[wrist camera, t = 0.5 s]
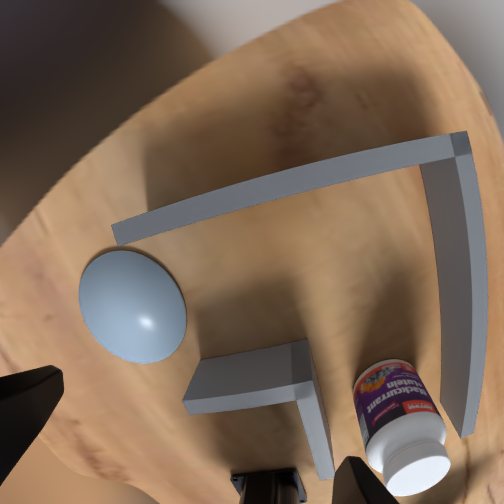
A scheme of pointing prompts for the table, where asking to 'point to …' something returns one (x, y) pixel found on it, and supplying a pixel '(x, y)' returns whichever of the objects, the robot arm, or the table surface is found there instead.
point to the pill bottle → (400, 427)
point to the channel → (298, 353)
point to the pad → (132, 306)
